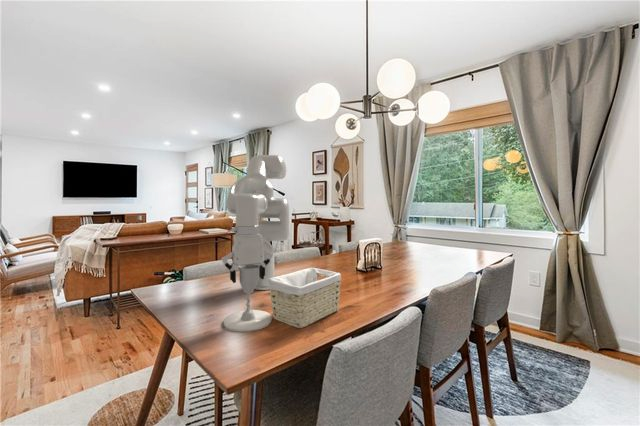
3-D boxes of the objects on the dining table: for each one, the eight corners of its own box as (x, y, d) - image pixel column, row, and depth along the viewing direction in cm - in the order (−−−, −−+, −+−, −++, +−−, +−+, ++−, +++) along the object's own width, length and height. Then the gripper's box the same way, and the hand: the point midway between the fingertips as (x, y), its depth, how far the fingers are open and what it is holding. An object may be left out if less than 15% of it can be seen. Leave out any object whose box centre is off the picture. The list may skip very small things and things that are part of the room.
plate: (263, 310, 117) (263, 307, 117) (278, 325, 103) (278, 322, 103) (219, 317, 110) (219, 314, 110) (229, 335, 96) (229, 332, 96)
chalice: (260, 314, 110) (260, 264, 110) (257, 321, 104) (258, 268, 103) (239, 314, 110) (239, 264, 109) (235, 321, 103) (236, 268, 102)
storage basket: (299, 332, 99) (299, 286, 98) (266, 319, 109) (266, 278, 108) (343, 311, 117) (343, 272, 116) (311, 301, 128) (311, 266, 127)
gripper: (223, 233, 98) (224, 286, 99) (275, 230, 106) (275, 279, 107) (219, 230, 104) (220, 280, 106) (268, 228, 112) (268, 274, 114)
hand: (247, 280), depth 106 cm, fingers open, 9 cm apart
